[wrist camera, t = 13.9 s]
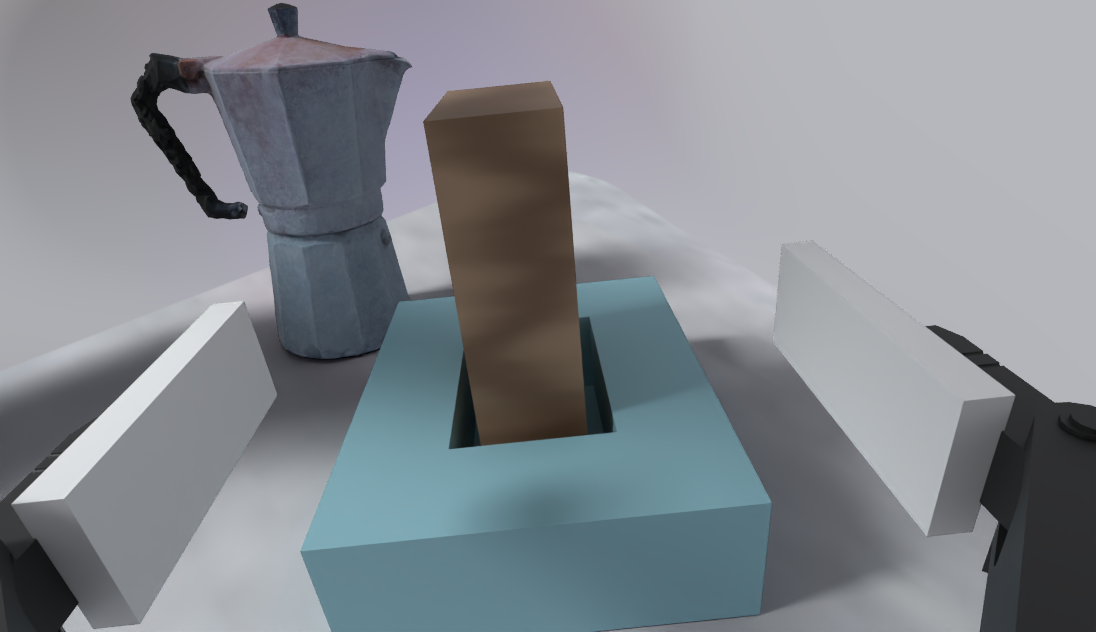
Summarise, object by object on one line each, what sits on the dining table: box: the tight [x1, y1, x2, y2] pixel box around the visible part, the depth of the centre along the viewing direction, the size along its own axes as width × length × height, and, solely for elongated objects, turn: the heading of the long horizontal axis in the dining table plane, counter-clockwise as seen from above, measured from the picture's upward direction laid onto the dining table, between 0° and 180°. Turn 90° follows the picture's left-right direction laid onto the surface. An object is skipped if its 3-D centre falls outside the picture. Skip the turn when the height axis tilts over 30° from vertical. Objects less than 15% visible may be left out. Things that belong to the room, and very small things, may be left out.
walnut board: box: [423, 81, 588, 446], centre depth 24 cm, size 4×7×15 cm, turn 3°
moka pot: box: [131, 3, 412, 359], centre depth 37 cm, size 10×15×20 cm, turn 105°
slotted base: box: [300, 276, 772, 632], centre depth 27 cm, size 14×17×5 cm
